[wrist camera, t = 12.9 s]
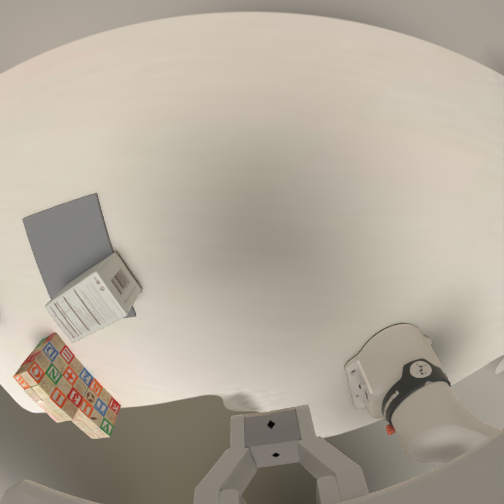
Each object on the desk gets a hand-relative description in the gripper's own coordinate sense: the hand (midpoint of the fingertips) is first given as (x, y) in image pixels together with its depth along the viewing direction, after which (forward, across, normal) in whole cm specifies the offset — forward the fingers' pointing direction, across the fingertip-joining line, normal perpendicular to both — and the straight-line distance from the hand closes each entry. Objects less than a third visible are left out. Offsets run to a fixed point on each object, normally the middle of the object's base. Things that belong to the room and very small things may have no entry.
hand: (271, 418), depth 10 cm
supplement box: (+27, -18, -4) cm, 33 cm away
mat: (+31, -28, -2) cm, 42 cm away
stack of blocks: (+32, -40, -25) cm, 57 cm away
